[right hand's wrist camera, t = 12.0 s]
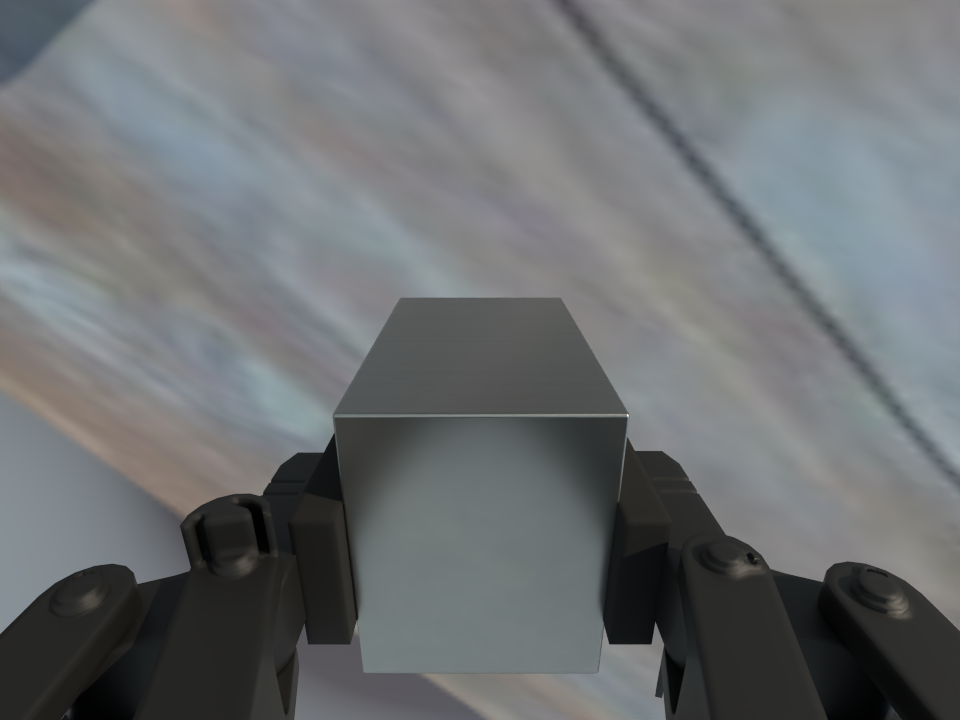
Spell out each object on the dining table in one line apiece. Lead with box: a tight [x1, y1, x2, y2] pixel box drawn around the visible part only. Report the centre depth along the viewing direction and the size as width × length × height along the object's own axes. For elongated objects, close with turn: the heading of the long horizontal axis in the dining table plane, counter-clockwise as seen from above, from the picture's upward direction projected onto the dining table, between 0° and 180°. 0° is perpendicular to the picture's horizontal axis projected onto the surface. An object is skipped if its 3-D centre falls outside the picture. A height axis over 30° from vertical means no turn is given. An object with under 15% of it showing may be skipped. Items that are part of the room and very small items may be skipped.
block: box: [333, 298, 629, 673], centre depth 12 cm, size 5×6×7 cm
